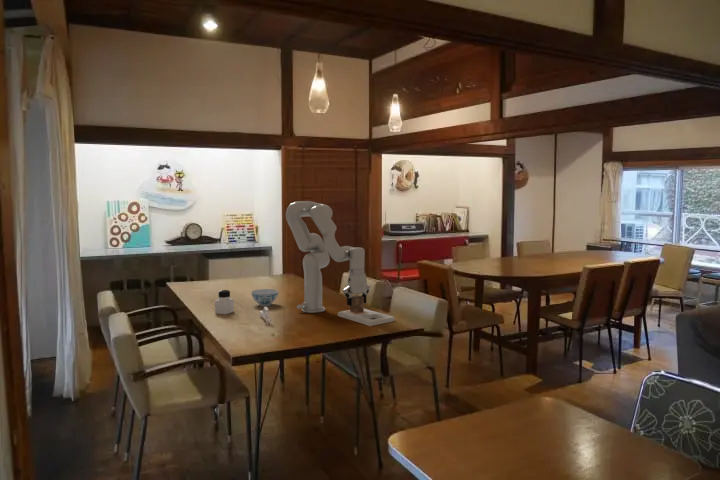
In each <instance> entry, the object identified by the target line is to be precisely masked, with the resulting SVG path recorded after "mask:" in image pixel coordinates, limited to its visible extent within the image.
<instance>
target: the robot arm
mask: <svg viewBox="0 0 720 480" xmlns="http://www.w3.org/2000/svg"><path fill="white" fill-rule="evenodd" d="M333 214H334V213H333V209H332V208H331V207H330V206H329V205H328V204H325V203H318V202H315V201H310V200H301V201H300V200H299V201H294V202H291V203H290V204H289V205H288V206H287V208H286V211H285V218H286V219H285V220H286V222H287V224H288V227H289V228H290V231H291V232H292V235H293V238H294V240H295V242H296V244H297V247H298V249H299V250H300V251H301V252H304V253H305V252H309V253H307V254H305V255H304V257H303V258H302V267H303V276H304V279H303V282H304V302H302V304H297V305H296V309H297V310H299V309H301V311H302V312H304V313H309V314H311V313H312V314H313V313H322V312H325V311H326V307H325V306H323V275H322V272H321V269H323V268H326V267H327V266H329V264H330V262H331V261H330V260H331V259H332V260H333V261H335V262H337V263H342V262H345V261H349V270H348V271H347V272H348V273H349V274H348V277H347V283H346V284H347V285H346V287H344V289H342V292H343V295H344V296H345V298H346V305H347V306H349V307H350V306H351V305H352V298H351V296H354V295H360V294H361V296H363V297H364V304H367V296H368V294H369V293H370V289H371V285H369V284H368V279H367V274H366V272H365V248H363V247H354V246H351V245H350V246H349V245H344V246H340V245H339V243H338V242H337V240H336V236H335V234H336V231H337V225H336V223H335V222H334V221H333V220H332V217H333ZM304 217H310V218H311V220H312V221H313V222H314V224H315V226H316V227H317V229H318V231H319V232H320V234H321V235H322V237H321V236H320V235H319V234H317V233H315V232H311V233H310V230H309V228H308V226H307V224H306V223H305V221H304V220H303V219H302V218H304ZM330 257H331V259H330Z"/></svg>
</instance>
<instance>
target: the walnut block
mask: <svg viewBox="0 0 720 480" xmlns="http://www.w3.org/2000/svg"><path fill="white" fill-rule="evenodd" d="M351 298H352V305H351V306H350V305H349V310H350V312H354V313H360V312H364V309H365V305H364V304H365V303H364V297H363V296H362V295H360V294H354V295H352V296H351Z"/></svg>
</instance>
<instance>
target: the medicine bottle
mask: <svg viewBox="0 0 720 480" xmlns="http://www.w3.org/2000/svg"><path fill="white" fill-rule="evenodd" d="M217 298H218V299H215V300H214V314H216V315H217V314H218V315H228V314H231V313H234V312H235V310H234V305H235V304H234V298H231V291H230V290H229V289H221V290H219V291H218V292H217Z"/></svg>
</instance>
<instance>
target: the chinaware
mask: <svg viewBox="0 0 720 480" xmlns="http://www.w3.org/2000/svg"><path fill="white" fill-rule="evenodd" d="M278 295H279V290H278V289H273V288H262V289H255V290H251V296H252V298H253V301H254V302H255V303H257V304H258V306H260V307H270V306H272V303H275V301H276V300H277V298H278Z"/></svg>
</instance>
